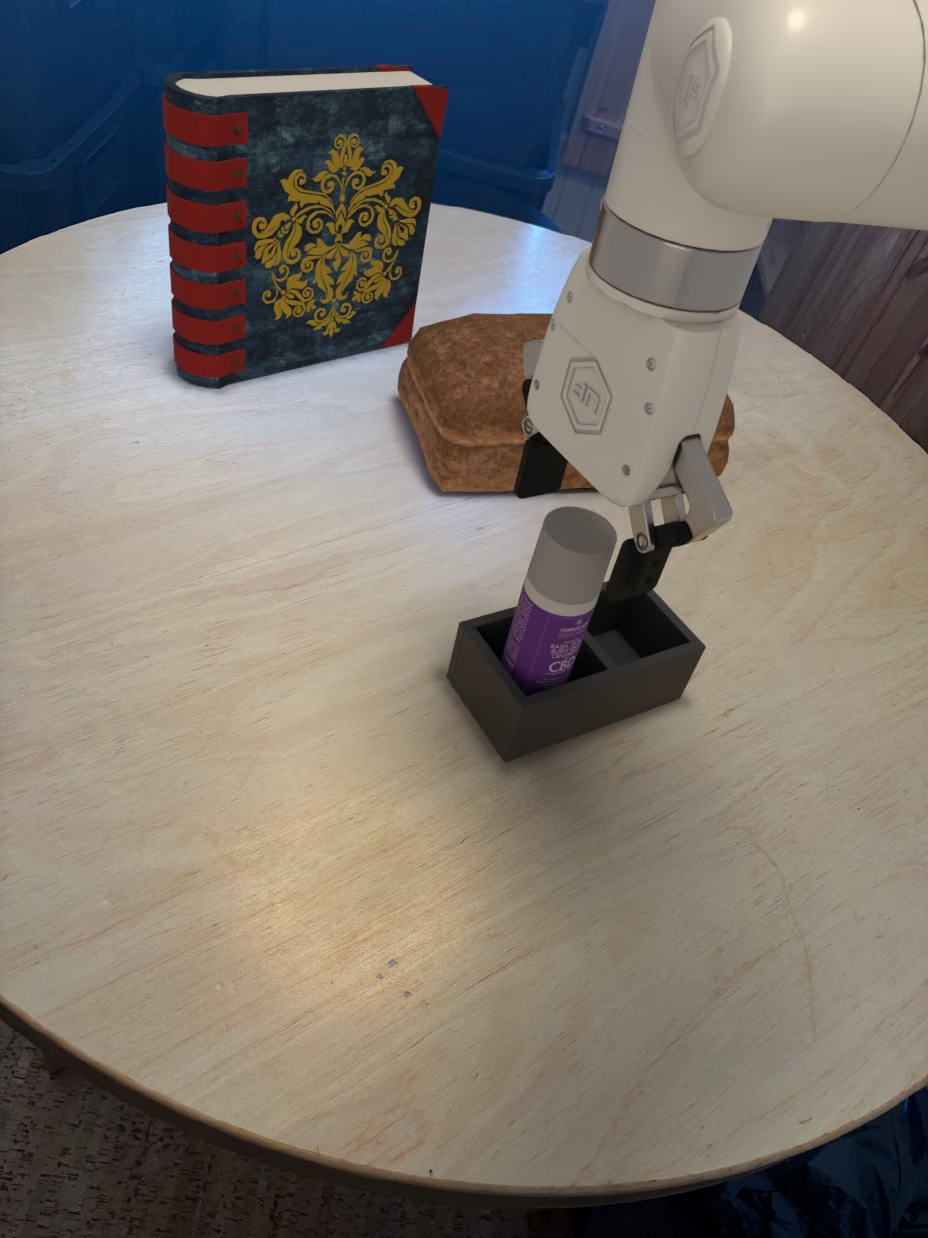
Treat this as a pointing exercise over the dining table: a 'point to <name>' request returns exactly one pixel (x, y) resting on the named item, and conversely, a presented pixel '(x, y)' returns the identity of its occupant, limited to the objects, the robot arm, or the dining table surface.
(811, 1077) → the dining table surface
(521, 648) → the container
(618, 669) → the dark grey divided box
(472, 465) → the bread
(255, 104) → the book
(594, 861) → the dining table surface
